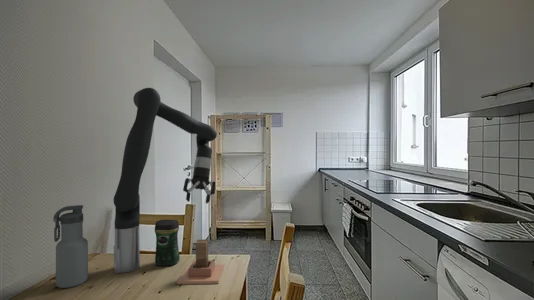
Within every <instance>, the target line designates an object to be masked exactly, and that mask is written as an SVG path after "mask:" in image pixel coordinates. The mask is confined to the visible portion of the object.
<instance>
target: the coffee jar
mask: <svg viewBox="0 0 534 300" xmlns="http://www.w3.org/2000/svg"><path fill="white" fill-rule="evenodd" d="M179 225H180V224H179V221H178V219H160V220H157V221H155V224H154V233H155V237H156V238H155V239H156V240H155V257H154V263H155V265H156V266H173V265H177V264H178V263H179V262H180V251H179V248H180V247H179V240H178V238H179V237H178V236H179V235H178V232H179V229H180V226H179Z"/></svg>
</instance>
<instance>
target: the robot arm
mask: <svg viewBox="0 0 534 300" xmlns="http://www.w3.org/2000/svg"><path fill="white" fill-rule="evenodd" d="M134 93H135V94H134V95H133V104H134V106H135V107H136V108H137V110H136V116H135V119H134V122H133V124H132V126H131V128H130V130H129V133H128V135H127V138H126V142H125V146H124V151H123V156H122V157H123V158H122V165H121V173H120V178H119V181H118V185H117V188H116V190H115V193H114V196H113V204H114V207H115V214H114V215H115V216H114V245H113V270H114V272H115V273H116V274H119V273H122V274H123V273H129V272H133V271H136V270H138V269H139V268H140V267H141V265H140V264H141V261H140V260H141V255H140V254H141V253H140V248H141V247H140V218H141V213H140V209H141V207H140V206H141V205H140V204H141V199H140V193H139V192H140V183H141V179H142V175H143V173H144V170H145V166H146V164H147V161H148V157H149V152H150V148H151V141H152V137H153V133H154V132H153V131H154V124H155V120H156V117H159V118H161V119H163V120H165V121H167V122H168V123H170V124H173V125H174V126H175V127H178V128H179V129H182V130H183V131H185V132H186V133H189V134H190V135H196V139H195V140H196V156H195V161H194V165H193V171H192V178H189V177H186V178H185V180H184V183H183V184H184V185H183V189H182V191H183V192H185V194H186V197H185V200H186V202H190V199H191V192H192V191H193V190H194V189H195V190H204V192H205V194H206V197H205V204H209V203H210V201H211V196H213V195H215V194H216V182H215V181H210V176H211V175H210V174H211V166H212V154H213V150H212V149H213V148H212V147H210V144H209V143H210V142H212V141H214V140H216V138H217V137H218V136H217V135H218V133H217V131H216V129H215V128H214V126H211V125H209V124H207V123H205V122H202V121H198V120H197V119H195V118H194V117H192V116H190V115H189V114H187V113H185V112H182V111H180V110H178V109H175V108H172V107H171V106H169V105H166V104H165V103H163V102H162V101H161V95H160V93H159V92H158V90H156V89H155V88H153V87H145V88H142V89H140V90H138V91H136V92H134ZM190 183H191V184H192V186H190V187H189V189H188V185H189V184H190ZM208 186H210V189H209V187H208Z"/></svg>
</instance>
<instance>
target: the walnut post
mask: <svg viewBox="0 0 534 300" xmlns="http://www.w3.org/2000/svg"><path fill="white" fill-rule="evenodd" d="M208 260H209V239H207V238H206V239H197V240H196V242H195V261H196V268H208Z"/></svg>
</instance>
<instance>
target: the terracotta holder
mask: <svg viewBox="0 0 534 300" xmlns="http://www.w3.org/2000/svg"><path fill="white" fill-rule="evenodd" d="M224 270H225V264H216V260H215V259H214V260H210V259H208V268H196V260H193V261H192V263H191V264H190V265H189V264H188V265H186V267H185V269H184V270H183V272H182V273H181V274H180V276H179V278H177V280H176V285H201V284H202V285H203V284H205V285H209V284H220V281H221V278H222V275H223V272H224Z"/></svg>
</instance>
